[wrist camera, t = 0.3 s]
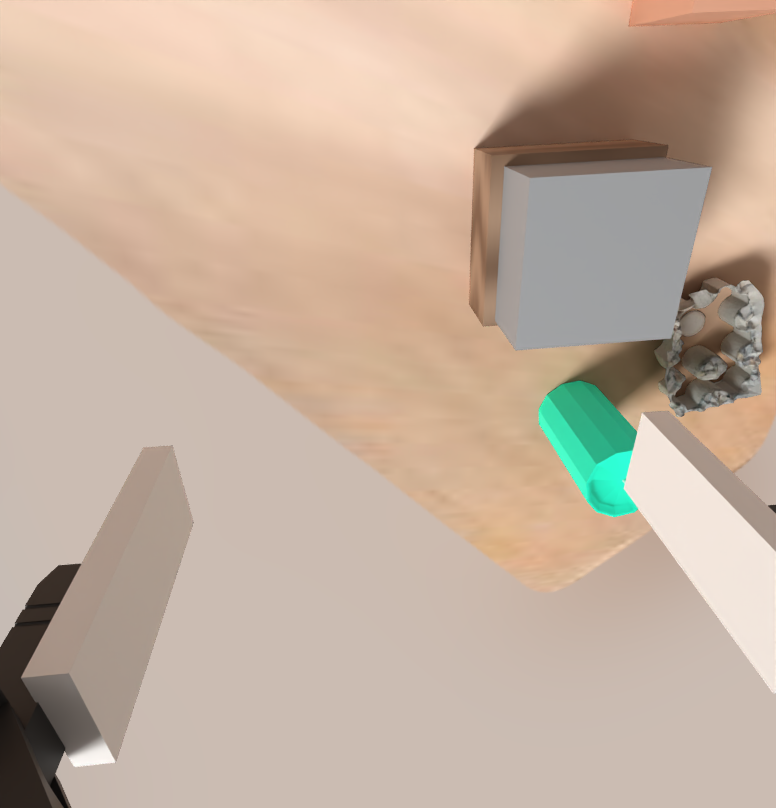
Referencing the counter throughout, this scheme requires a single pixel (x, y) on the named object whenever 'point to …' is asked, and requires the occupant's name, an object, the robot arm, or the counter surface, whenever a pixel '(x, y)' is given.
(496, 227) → the tower base
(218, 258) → the counter surface
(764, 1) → the terracotta block
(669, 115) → the counter surface
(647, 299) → the gray tower middle block
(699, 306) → the egg carton
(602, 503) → the candle
